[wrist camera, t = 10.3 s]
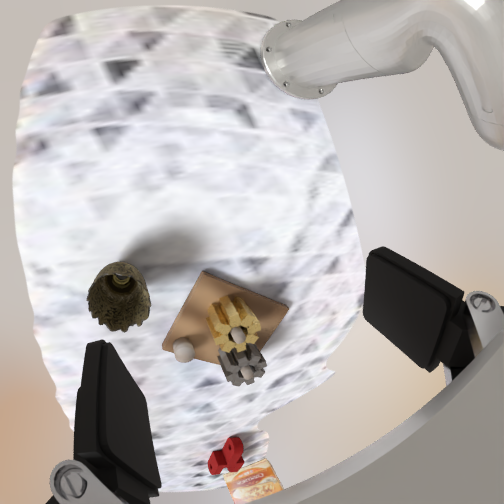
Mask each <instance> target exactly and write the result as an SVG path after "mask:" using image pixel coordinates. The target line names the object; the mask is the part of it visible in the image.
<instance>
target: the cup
mask: <svg viewBox="0 0 504 504" xmlns="http://www.w3.org/2000/svg"><path fill="white" fill-rule="evenodd" d="M116 275H121V276H127V278H126V279H124V280H121V279H119V278H117V276H116ZM88 292H89V294H88V296H87V301H88V302H89V303H88V305H89V312H90V311H91V315H92V318H98V320H99V325H103V323H104V324H105V325H106V326H107V328H108V329H109V330H110V331H117V330H120V329H121V331H122V332H127V331H128V328H129V326H134V324H137V326H141V325H142V322H143V321H144V320H146V319H147V318H148V317H149V312H150V307H151V301H150V296H149V293H148V289H147V286H146V283H145V280H144V278H143V276H142V274H141V273H140V272H139V271H138V269H137V268H135V267H134V266H132V265H131V264H128V263H125V262H114V263H111V264H109V265H107V266H105V267H104V268H103V269H102V270H101V271H100V272H99V274H98V275H97V277H96V278H95V280H94V282H93V284H92V285H91V287H90V288H89V290H88Z"/></svg>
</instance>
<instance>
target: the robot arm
mask: <svg viewBox="0 0 504 504" xmlns="http://www.w3.org/2000/svg"><path fill="white" fill-rule="evenodd" d="M433 47H435V48H436V49H437V50H438V51H439V52H440V54H441V56H442V57H443V59H444V61H445V63H446V65H447V66H448V68H449V70H450V72H451V74H452V76H453V78H454V81H455V83H456V86H457V88H458V90H459V93H460V95H461V98H462V100H463V103H464V105H465V108H466V110H467V113H468V115H469V118H470V120H471V122H472V124H473V126H474V128H475V130H476V132H477V133H478V134H479V136H480V137H481V138H482V139H483V140H484V141H485V142H487V143H488V144H489V145H491V146H493V147H495V148H497V149H499V150H503V151H504V0H340V1H338V2H336V3H334V4H332V5H330V6H329V7H327V8H325V9H323V10H321V11H319V12H317V13H315V14H314V15H312V16H310V17H308V18H307V19H305V20H303V21H301V20H287V21H284V22H280V23H279V24H277V25H275V26H274V27H272V28H271V29H270V30H269V31H268V32H267V33H266V34H265V36H264V38H263V40H262V44H261V55H260V56H261V61H262V65H263V67H264V70H265V72H266V74H267V75H268V77H269V78H270V80H271V81H272V82H273V83H274V84H275V85H276V86H277V87H278V88H279V89H281V90H282V91H283V92H285V93H287V94H288V95H291V96H293V97H296V98H300V99H315V98H320V97H323V96H325V95H327V94H328V93H330V92H331V91H332V90H333V89H334V88H335V86H336V85H337V83H342V82H347V81H353V80H359V79H365V78H373V77H380V76H388V75H395V74H404V73H409V72H411V71H414V70H416V69H418V68H419V67H420V66H421V65H422V64H423V63H424V62H425V61H426V60H427V58H428V57H429V55H430V53H431V51H432V49H433ZM266 50H267V51H268V52H267V51H266ZM283 84H284V85H285V86H284V85H283ZM463 296H464V291H462V290H461V289H459V288H457V287H456V286H454V285H452V284H451V283H449V282H447V281H445V280H444V279H442V278H440V277H439V276H437V275H435V274H434V273H432V272H430V271H428V270H427V269H425V268H423V267H421V266H419V265H418V264H416V263H414V262H412V261H410V260H409V259H407V258H405V257H403V256H401V255H399V254H398V253H396V252H394V251H392V250H390V249H388V248H386V247H380V248H377V249H374V250H372V251H371V252H370V253H369V256H368V257H367V261H366V279H365V292H364V304H363V316H364V318H365V320H367V322H369V323H370V324H371V325H372V326H373V327H375V328H376V329H377V330H378V331H379V332H380V333H382V334H383V335H384V336H385V337H386V338H387V339H388V340H390V341H391V342H392V343H393V344H394V345H395V346H396V347H398V348H399V349H400V350H401V351H402V352H403V353H405V354H406V355H407V356H408V357H409V358H410V359H411V360H412V361H414V362H415V363H416V364H417V365H418V366H419V367H421V368H425V369H426V370H427V371H428V372H432V371H433V370H434V369H435V368H436V367H437V366H439V363H440V361H441V362H442V363H443V366H444V372H445V379H446V387H445V388H444V389H443V390H442V391H441V392H440V393H439V394H437V395H436V396H435V397H434V398H433V399H432V400H430V401H429V402H428V403H427V404H426V405H424V406H423V407H422V408H421V409H420V410H418V411H417V412H416V413H415V414H413V415H412V416H411V417H409V418H408V419H407V420H405V421H404V422H403V423H401V424H400V425H399V426H397V427H396V428H394V429H393V430H392V431H390V432H389V433H387V434H386V435H384V436H383V437H382V438H380V439H379V440H377V441H375V442H374V443H372V444H371V445H370V446H368V447H366V448H365V449H363V450H361V451H360V452H358V453H356V454H355V455H353V456H351V457H350V458H348V459H346V460H344V461H342V462H340V463H339V464H337V465H335V466H333V467H331V468H329V469H327V470H325V471H324V472H321V473H320V474H317V475H316V476H313V477H311V478H309V479H307V480H305V481H303V482H300V483H298V484H296V485H293V486H291V487H289V488H286V489H284V490H281V491H279V492H276V493H274V494H271V495H268V496H266V497H263V498H260V499H257V500H254V501H251V502H248V503H245V504H504V306H499V304H498V302H497V300H496V299H495V298H494V297H493V296H491V295H490V294H488V293H485V292H482V291H473V292H471V293H469V294H468V295H467V297H466V301H465V302H464V301H462V298H463ZM50 487H51V491H52V493H53V496H52V497H51V498H50V499H49V500H48V502H47V503H46V504H150V500H149V498H150V497H157V496H159V493H158V488H161V480H160V475H159V471H158V466H157V462H156V457H155V452H154V446H153V441H152V435H151V429H150V423H149V416H148V409H147V402H146V399H145V396H144V394H143V393H142V391H141V390H140V388H139V387H138V385H137V384H136V382H135V381H134V379H133V378H132V376H131V375H130V373H129V371H128V370H127V368H126V367H125V365H124V363H123V362H122V360H121V359H120V357H119V355H118V353H117V352H116V350H115V348H114V347H113V345H112V344H111V343H110V342H109V343H106V342H105V341H104V340H99V341H95V342H91V343H88V344H87V346H86V352H85V358H84V365H83V372H82V380H81V387H80V388H79V389H78V392H77V400H76V411H75V426H74V460H65V461H62V462H60V463H59V464H58V465H56V466H55V468H54V469H53V470H52V473H51V476H50Z"/></svg>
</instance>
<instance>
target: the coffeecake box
mask: <svg viewBox="0 0 504 504" xmlns="http://www.w3.org/2000/svg"><path fill="white" fill-rule="evenodd" d="M223 476H224V479H225V482H226V484H227V487H228V489H229V492H230V494H231V496H232V499H233V501H234V503H235V504H245V503H248V502H251V501H254V500H257V499H260V498H263V497H266V496H268V495H271V494H274V493H276V492H279V491H281V490H284V488H283V486H282V484H281V482H280V481H279V479H278V477H277V475H276V473H275V471H274V469H273V467H272V465H271V464H270V463H269V461H268V460H267V459H263V460H261V461H259V462H256V463H254V464H251V465H249V466H246V467H244V468H241V469H240V470H239V471H238V472H232V473H231V472H230V473H227V474H224V475H223Z"/></svg>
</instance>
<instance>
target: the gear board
mask: <svg viewBox="0 0 504 504" xmlns="http://www.w3.org/2000/svg"><path fill="white" fill-rule="evenodd" d="M227 295H228V297H229V299H230V300H231V301H232V300H234V298H235V297H236V296H238V297H240V298H242V299H244V301H245V302H246V304H248V306H249V307H250V309H251V310H252V312H253V313H254V315H255V316H256V318H257V319H258V321H259V322H260V326H261V330H260V331H257V332H256V334H257V335H258V337H259V338H258V339H257V341H256V342H255V343H254V344H252V343H246V345H245V346H246V350H243V351H240V352H237V350H236V348H235V347H234V348H232V350H231V351H230V352H229V353H228V352H225V351H222V350H221V348H220V346H219V345H216V344H215V341H214V339H213V337H212V334H211V332H210V329H209V327H208V324H207V321H206V318H207V317H210V316H209V314H208V311H207V310H208V308H209V307H210V305H211V304H214V305H216V306H217V305H219V306H220V304H219V303H220V300H219V298H221V297H224V296H227ZM288 310H289V308H288V307H287V306H286V305H284V304H282V303H279V302H277V301H274V300H272V299H269V298H267V297H264V296H262V295H259V294H257V293H254V292H252V291H249V290H247V289H245V288H242V287H240V286H237V285H235V284H232V283H230V282H228V281H225V280H223V279H220V278H218V277H216V276H213V275H211V274H209V273H206V272H204V271H202V272H201V274H200V276H199V277H198V279H197V281H196V283H195V285H194V286H193V288H192V290H191V292H190V294H189V295H188V297H187V299H186V301H185V303H184V305H183V306H182V308H181V310H180V312H179V314H178V316H177V317H176V319H175V321H174V323H173V325H172V327H171V329H170V330H169V332H168V334H167V336H166V338H165V340H164V342H163V344H162V349H163V350H166V351H169V352H172V353H174V354H175V358H176V360H178V361H179V362H182V363H186V362H189V361H191V360H193V359H198V360H202V361H206V362H210V363H215V364H219V365H221V367H222V369H223V372H224V374H225V377H226V379H227V381H228V382H229V381H231V382H232V384H233V385H235V386H240V385H241V384H242V383H243V382H244V381H245V382H246V384H247V385H249V384H252V383H254V377H260V378H261V377H262V376H263V374H264V373H265V371H264V369H263V368H264V367H266V366H267V364H266V361H265V359H264V358H263V356H262V354H261V353H260V351H261V349H262V348H263V346H264V345H265V344H266V342H267V341H268V339H269V338H270V336H271V335H272V334H273V332H274V331H275V329H276V328H277V326H278V325H279V323H280V322H281V321H282V319H283V318H284V316H285V315H286V313H287V312H288ZM230 333H231V335H232V337H233V339H234V341H235V342H236V343H237V344H241V343H243V342H244V341H245V340H246V336H245V334H244V333H243V331H242V329H241V327H240V326H237V327H234V328H232V329H231V330H230Z"/></svg>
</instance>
